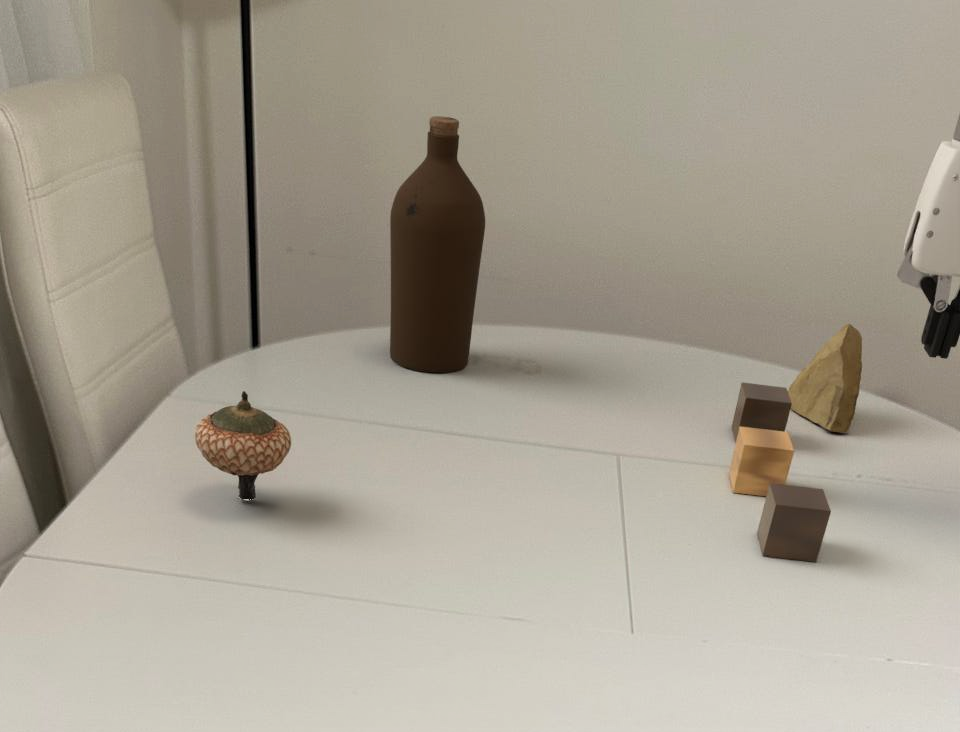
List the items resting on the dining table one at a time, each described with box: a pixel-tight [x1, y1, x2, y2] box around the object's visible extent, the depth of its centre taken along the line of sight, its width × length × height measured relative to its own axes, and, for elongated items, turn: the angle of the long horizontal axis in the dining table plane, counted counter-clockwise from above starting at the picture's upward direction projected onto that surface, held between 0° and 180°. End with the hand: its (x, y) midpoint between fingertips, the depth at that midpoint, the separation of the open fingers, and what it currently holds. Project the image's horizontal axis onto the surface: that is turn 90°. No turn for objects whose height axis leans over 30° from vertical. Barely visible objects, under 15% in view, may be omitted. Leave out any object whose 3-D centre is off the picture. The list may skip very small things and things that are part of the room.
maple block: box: [728, 426, 795, 497], centre depth 122 cm, size 5×5×5 cm
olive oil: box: [389, 115, 486, 373], centre depth 136 cm, size 11×11×25 cm
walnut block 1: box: [731, 382, 792, 444], centre depth 133 cm, size 5×5×5 cm
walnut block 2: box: [756, 483, 832, 563], centre depth 111 cm, size 5×5×5 cm
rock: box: [787, 323, 863, 434], centre depth 139 cm, size 11×9×10 cm
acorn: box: [194, 390, 292, 501], centre depth 106 cm, size 8×8×10 cm
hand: (935, 353), depth 114 cm, fingers closed
